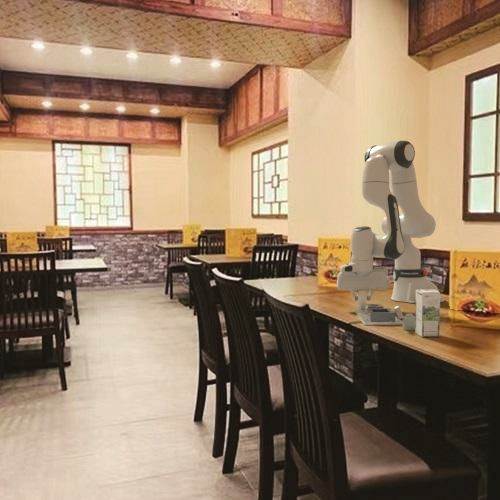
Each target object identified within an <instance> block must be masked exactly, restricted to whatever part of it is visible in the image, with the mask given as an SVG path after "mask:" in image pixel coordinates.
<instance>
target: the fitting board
mask: <svg viewBox="0 0 500 500" xmlns="http://www.w3.org/2000/svg"><path fill="white" fill-rule="evenodd" d="M354 314H355V315H356V316H357V318H359V320H360V322H362V323H363V325H364V326H402V320H401V319H399V318H398V316H396V312H395V310H392V309H391V308H387V307H386V308H385V307H384V305H382V303H367V304H365V310H354Z"/></svg>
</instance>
